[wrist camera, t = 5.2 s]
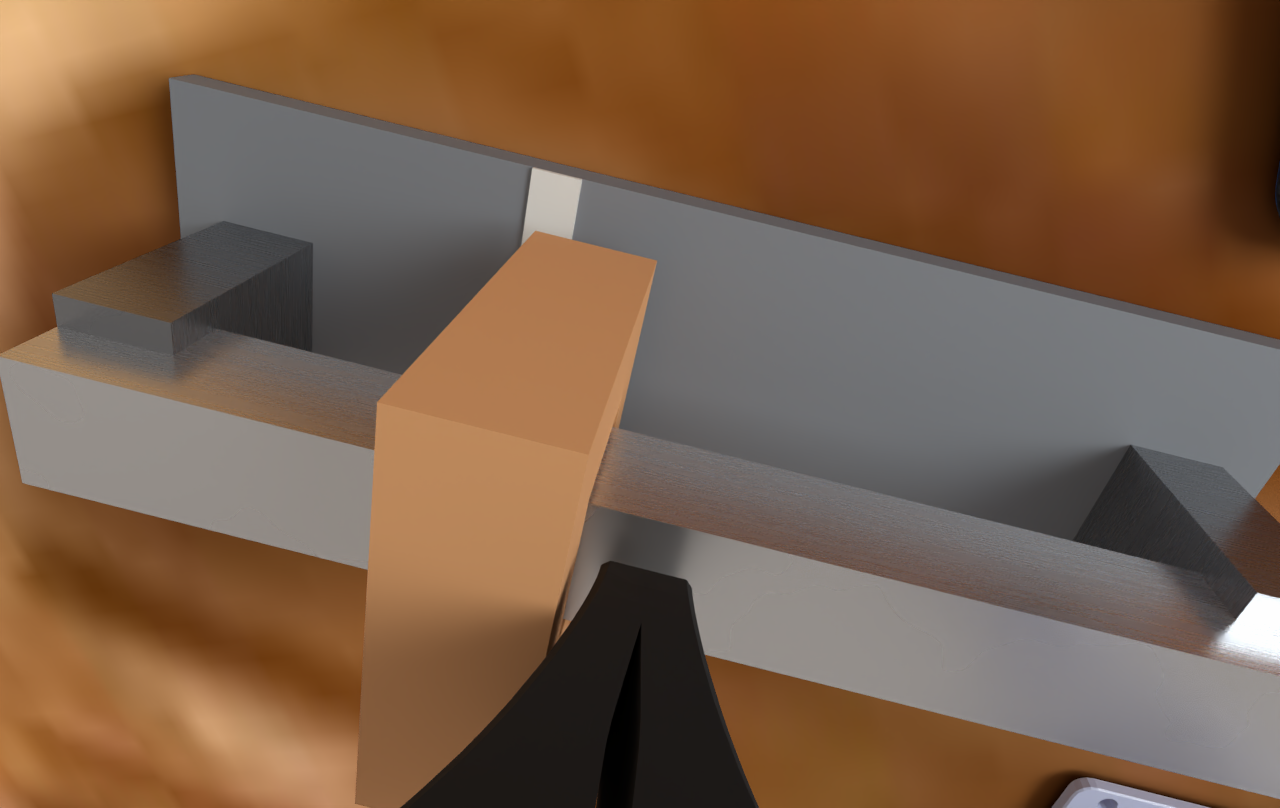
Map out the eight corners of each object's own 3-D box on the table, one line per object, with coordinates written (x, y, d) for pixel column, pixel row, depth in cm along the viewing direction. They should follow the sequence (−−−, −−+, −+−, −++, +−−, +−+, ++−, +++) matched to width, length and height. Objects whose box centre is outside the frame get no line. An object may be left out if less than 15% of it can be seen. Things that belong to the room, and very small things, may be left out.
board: (1323, 350, 16) (1353, 368, 15) (1107, 658, 20) (1122, 685, 19) (194, 74, 16) (165, 77, 15) (216, 435, 21) (194, 453, 20)
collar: (657, 260, 15) (588, 455, 9) (590, 549, 18) (506, 841, 12) (535, 230, 15) (377, 402, 9) (491, 524, 18) (355, 803, 12)
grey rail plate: (1222, 467, 17) (1443, 685, 11) (1136, 592, 18) (1294, 834, 13) (223, 220, 17) (-18, 322, 12) (230, 367, 19) (23, 514, 13)
